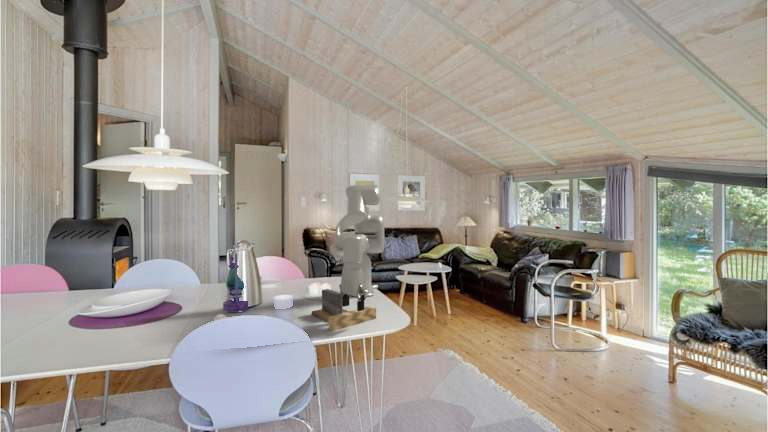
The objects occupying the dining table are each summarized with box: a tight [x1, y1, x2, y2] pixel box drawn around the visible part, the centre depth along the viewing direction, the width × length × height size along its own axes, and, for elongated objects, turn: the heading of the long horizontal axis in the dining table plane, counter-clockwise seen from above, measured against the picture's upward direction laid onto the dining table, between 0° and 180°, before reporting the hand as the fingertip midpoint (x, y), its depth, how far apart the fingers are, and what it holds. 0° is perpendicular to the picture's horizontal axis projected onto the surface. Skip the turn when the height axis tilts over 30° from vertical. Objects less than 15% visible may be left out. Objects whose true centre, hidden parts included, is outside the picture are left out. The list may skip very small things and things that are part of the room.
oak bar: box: [328, 305, 377, 332], centre depth 155 cm, size 22×4×5 cm, turn 134°
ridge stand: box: [311, 288, 349, 323], centre depth 166 cm, size 12×14×10 cm
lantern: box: [222, 244, 249, 313], centre depth 174 cm, size 13×12×30 cm
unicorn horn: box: [213, 313, 227, 321], centre depth 147 cm, size 5×24×5 cm, turn 47°
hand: (353, 308), depth 155 cm, fingers open, 9 cm apart
